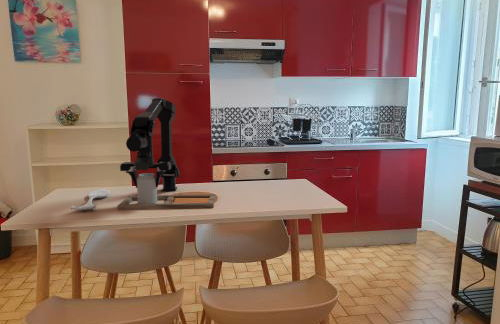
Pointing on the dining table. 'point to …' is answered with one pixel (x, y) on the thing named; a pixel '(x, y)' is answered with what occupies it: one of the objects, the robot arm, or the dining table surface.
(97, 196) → the spoon
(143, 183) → the can
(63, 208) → the dining table surface
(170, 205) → the ladder rack
